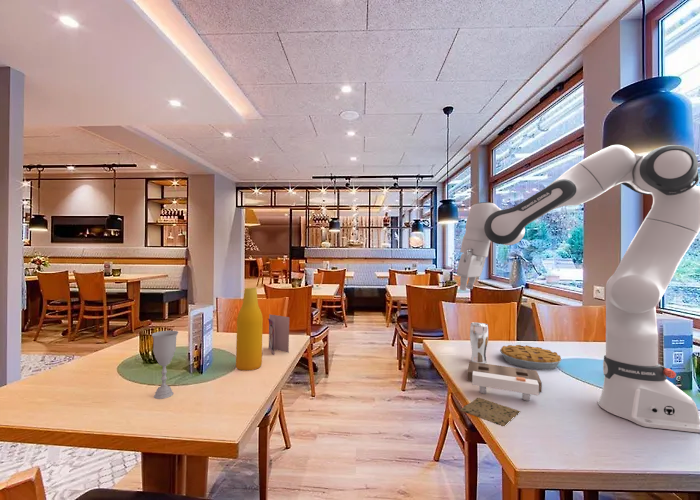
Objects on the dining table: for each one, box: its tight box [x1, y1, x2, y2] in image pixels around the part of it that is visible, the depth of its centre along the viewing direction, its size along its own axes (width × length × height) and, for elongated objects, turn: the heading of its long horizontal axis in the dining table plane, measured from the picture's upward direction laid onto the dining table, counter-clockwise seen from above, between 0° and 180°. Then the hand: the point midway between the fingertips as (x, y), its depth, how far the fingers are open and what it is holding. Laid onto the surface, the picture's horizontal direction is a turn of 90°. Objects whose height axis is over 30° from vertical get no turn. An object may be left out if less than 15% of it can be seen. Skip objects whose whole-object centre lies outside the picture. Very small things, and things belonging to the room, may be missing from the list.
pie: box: [499, 344, 562, 371], centre depth 134 cm, size 22×22×5 cm
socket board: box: [466, 361, 543, 393], centre depth 113 cm, size 22×12×3 cm, turn 67°
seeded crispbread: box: [460, 397, 521, 427], centre depth 90 cm, size 12×12×1 cm
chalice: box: [151, 330, 179, 400], centre depth 96 cm, size 7×7×18 cm
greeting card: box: [267, 314, 290, 356], centre depth 142 cm, size 11×7×15 cm, turn 25°
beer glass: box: [469, 322, 489, 364], centre depth 133 cm, size 7×7×15 cm
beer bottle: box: [235, 287, 264, 372], centre depth 122 cm, size 9×9×29 cm
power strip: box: [471, 371, 540, 402], centre depth 100 cm, size 18×4×6 cm, turn 67°
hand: (466, 289), depth 112 cm, fingers open, 8 cm apart
